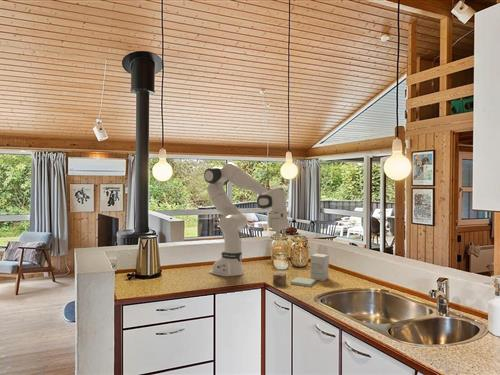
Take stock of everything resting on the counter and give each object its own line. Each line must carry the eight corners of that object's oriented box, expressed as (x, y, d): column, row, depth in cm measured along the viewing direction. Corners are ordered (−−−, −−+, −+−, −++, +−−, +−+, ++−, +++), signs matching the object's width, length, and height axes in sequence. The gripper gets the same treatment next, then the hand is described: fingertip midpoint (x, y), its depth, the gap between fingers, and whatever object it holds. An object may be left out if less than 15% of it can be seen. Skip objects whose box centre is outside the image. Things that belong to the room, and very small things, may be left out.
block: (273, 284, 233) (273, 274, 233) (276, 282, 238) (276, 272, 238) (282, 286, 230) (282, 275, 230) (285, 283, 236) (286, 273, 236)
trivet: (290, 284, 235) (290, 281, 235) (296, 279, 246) (296, 277, 246) (310, 286, 230) (310, 284, 230) (315, 281, 241) (315, 279, 241)
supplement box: (315, 276, 255) (315, 253, 255) (328, 278, 251) (329, 254, 250) (309, 279, 248) (310, 255, 247) (323, 281, 243) (324, 257, 243)
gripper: (280, 212, 249) (281, 234, 249) (269, 215, 230) (270, 239, 230) (289, 212, 247) (291, 234, 247) (279, 215, 228) (281, 239, 228)
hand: (281, 236), depth 238 cm, fingers open, 8 cm apart
